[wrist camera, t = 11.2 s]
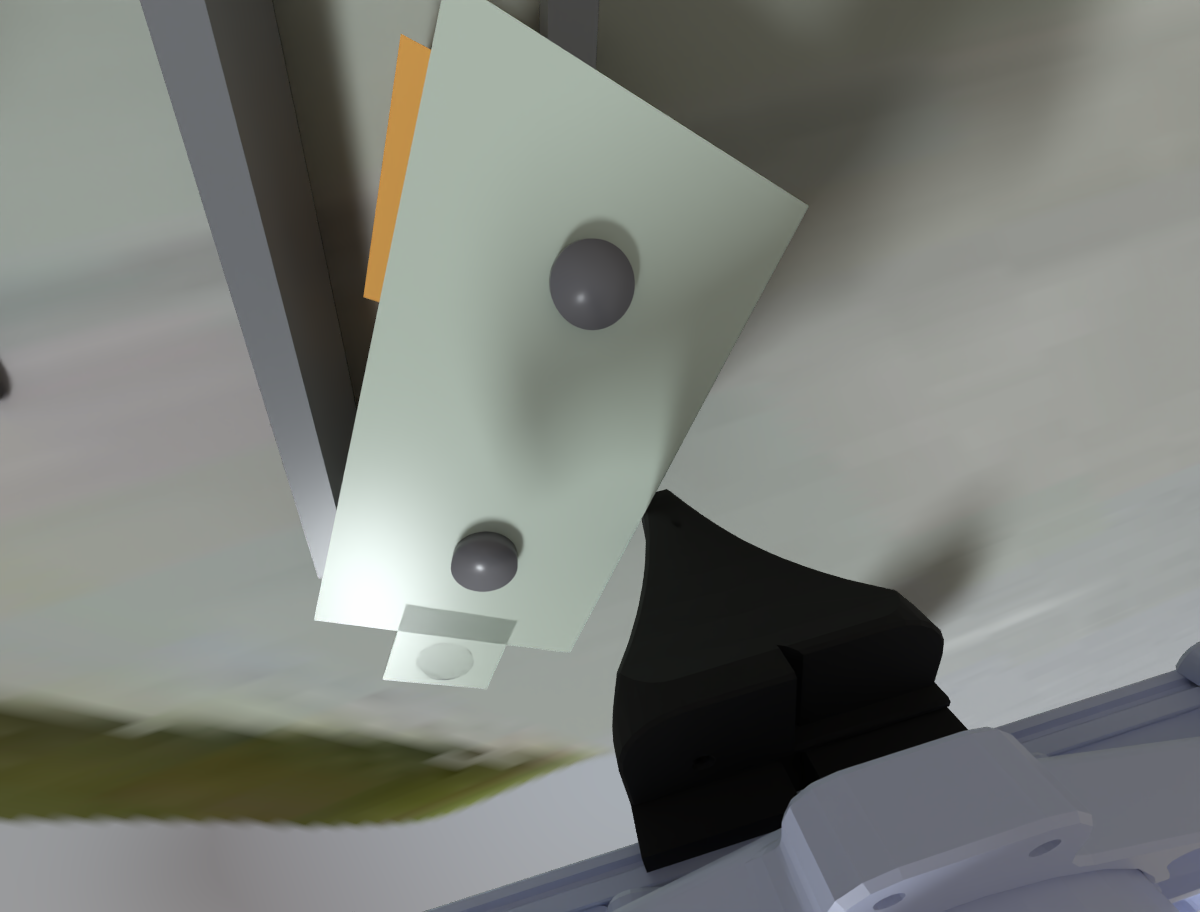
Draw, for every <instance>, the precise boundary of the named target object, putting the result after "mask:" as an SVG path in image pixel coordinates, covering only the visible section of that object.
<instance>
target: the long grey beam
mask: <svg viewBox="0 0 1200 912" xmlns="http://www.w3.org/2000/svg"><path fill="white" fill-rule="evenodd" d="M140 2H141V6H142V9H143V12H144V15H145V18H146V22H147V25H148V28H149V31H150V35H151V38H152V41H153V44H154V48H155V51H156V54H157V57H158V61H159V64H160V67H161V70H162V74H163V77H164V80H165V83H166V87H167V90H168V93H169V96H170V99H171V103H172V106H173V109H174V112H175V116H176V119H177V122H178V125H179V129H180V132H181V135H182V138H183V142H184V145H185V148H186V151H187V155H188V158H189V161H190V164H191V167H192V171H193V174H194V177H195V180H196V184H197V187H198V190H199V193H200V197H201V200H202V203H203V206H204V210H205V213H206V216H207V219H208V223H209V226H210V229H211V232H212V236H213V239H214V242H215V245H216V248H217V252H218V255H219V258H220V261H221V265H222V268H223V271H224V274H225V278H226V281H227V284H228V287H229V291H230V294H231V297H232V300H233V304H234V307H235V310H236V313H237V316H238V320H239V323H240V326H241V329H242V333H243V336H244V339H245V342H246V346H247V349H248V352H249V355H250V359H251V362H252V365H253V368H254V372H255V375H256V378H257V381H258V385H259V388H260V391H261V394H262V397H263V401H264V404H265V407H266V410H267V414H268V417H269V420H270V423H271V427H272V430H273V433H274V436H275V440H276V443H277V446H278V449H279V453H280V456H281V459H282V462H283V465H284V469H285V472H286V475H287V478H288V482H289V485H290V488H291V491H292V495H293V498H294V501H295V504H296V508H297V511H298V514H299V517H300V521H301V524H302V527H303V530H304V534H305V537H306V540H307V543H308V546H309V550H310V553H311V556H312V559H313V563H314V566H315V569H316V572H317V576H318V578H323V574H324V569H325V564H326V559H327V555H328V550H329V545H330V540H331V535H332V530H333V525H334V521H335V516H336V511H337V506H338V501H339V496H340V491H341V486H342V482H343V477H344V472H345V467H346V462H347V457H348V452H349V448H350V443H351V438H352V433H353V428H354V423H355V418H356V413H357V410H356V405H355V400H354V395H353V390H352V385H351V380H350V376H349V371H348V366H347V361H346V356H345V351H344V347H343V342H342V337H341V332H340V327H339V322H338V317H337V313H336V308H335V303H334V298H333V293H332V288H331V283H330V279H329V274H328V269H327V264H326V259H325V254H324V250H323V245H322V240H321V235H320V230H319V225H318V220H317V216H316V211H315V206H314V201H313V196H312V191H311V187H310V182H309V177H308V172H307V167H306V162H305V157H304V153H303V148H302V143H301V138H300V133H299V128H298V123H297V119H296V114H295V109H294V104H293V99H292V94H291V90H290V85H289V80H288V75H287V70H286V65H285V60H284V56H283V51H282V46H281V41H280V36H279V31H278V27H277V22H276V17H275V12H274V7H273V2H272V0H140ZM598 12H599V0H540V6H539V34H540V35H542V36H544V37H545V38H547V39H548V40H550V41H551V42H553V43H554V44H556V45H558V46H559V47H561V48H562V49H564V50H565V51H567V52H569V53H570V54H572V55H573V56H575V57H576V58H578V59H580V60H581V61H583V62H584V63H586V64H587V65H589V66H590V67H592V68H594V69H595V70H596V55H597V33H598Z"/></svg>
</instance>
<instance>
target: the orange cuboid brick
mask: <svg viewBox="0 0 1200 912" xmlns="http://www.w3.org/2000/svg"><path fill="white" fill-rule="evenodd" d="M430 53H431V49H429V48H427V47H425V46H423V45H421V44H419V43H417V42H415V41H413V40H411V39H409V38H408V37H406V36H404V35H402V34H401V37H400V44H399V51H398V58H397V65H396V72H395V79H394V86H393V93H392V100H391V107H390V114H389V121H388V128H387V135H386V142H385V149H384V156H383V163H382V170H381V177H380V184H379V191H378V198H377V205H376V212H375V219H374V226H373V233H372V240H371V247H370V254H369V261H368V268H367V275H366V282H365V289H364V296H363V297H365V298H368V299H371V300H374V301H377V302H380V297H381V292H382V287H383V282H384V277H385V272H386V267H387V263H388V258H389V253H390V248H391V243H392V238H393V233H394V229H395V224H396V219H397V214H398V209H399V204H400V199H401V194H402V190H403V185H404V180H405V175H406V170H407V165H408V160H409V156H410V151H411V146H412V141H413V136H414V131H415V126H416V121H417V117H418V112H419V107H420V102H421V97H422V92H423V87H424V83H425V78H426V73H427V68H428V63H429V58H430Z"/></svg>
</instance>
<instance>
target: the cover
mask: <svg viewBox="0 0 1200 912" xmlns="http://www.w3.org/2000/svg"><path fill="white" fill-rule="evenodd" d="M808 207H809V206H808V205H806V204H805V203H803V202H802V201H800V200H799V199H797V198H796V197H794V196H792V195H791V194H789V193H788V192H786V191H785V190H783V189H781V188H780V187H778V186H777V185H775V184H774V183H772V182H770V181H769V180H767V179H766V178H764V177H763V176H761V175H760V174H758V173H756V172H755V171H753V170H752V169H750V168H749V167H747V166H745V165H744V164H742V163H741V162H739V161H738V160H736V159H734V158H733V157H731V156H730V155H728V154H727V153H725V152H724V151H722V150H720V149H719V148H717V147H716V146H714V145H713V144H711V143H709V142H708V141H706V140H705V139H703V138H702V137H700V136H698V135H697V134H695V133H694V132H692V131H691V130H689V129H688V128H686V127H684V126H683V125H681V124H680V123H678V122H677V121H675V120H673V119H672V118H670V117H669V116H667V115H666V114H664V113H662V112H661V111H659V110H658V109H656V108H655V107H653V106H652V105H650V104H648V103H647V102H645V101H644V100H642V99H641V98H639V97H637V96H636V95H634V94H633V93H631V92H630V91H628V90H626V89H625V88H623V87H622V86H620V85H619V84H617V83H616V82H614V81H612V80H611V79H609V78H608V77H606V76H605V75H603V74H601V73H600V72H598V71H597V70H595V69H594V68H592V67H590V66H589V65H587V64H586V63H584V62H583V61H581V60H580V59H578V58H576V57H575V56H573V55H572V54H570V53H569V52H567V51H565V50H564V49H562V48H561V47H559V46H558V45H556V44H554V43H553V42H551V41H550V40H548V39H547V38H545V37H544V36H542V35H540V34H539V33H537V32H536V31H534V30H533V29H531V28H529V27H528V26H526V25H525V24H523V23H522V22H520V21H518V20H517V19H515V18H514V17H512V16H511V15H509V14H508V13H506V12H504V11H503V10H501V9H500V8H498V7H497V6H495V5H493V4H492V3H490V2H489V1H487V0H441V5H440V10H439V14H438V19H437V24H436V29H435V34H434V39H433V44H432V48H431V53H430V58H429V63H428V68H427V73H426V78H425V83H424V87H423V92H422V97H421V102H420V107H419V112H418V117H417V121H416V126H415V131H414V136H413V141H412V146H411V151H410V156H409V160H408V165H407V170H406V175H405V180H404V185H403V190H402V194H401V199H400V204H399V209H398V214H397V219H396V224H395V229H394V233H393V238H392V243H391V248H390V253H389V258H388V263H387V267H386V272H385V277H384V282H383V287H382V292H381V297H380V302H379V306H378V311H377V316H376V321H375V326H374V331H373V336H372V340H371V345H370V350H369V355H368V360H367V365H366V370H365V375H364V379H363V384H362V389H361V394H360V399H359V404H358V409H357V413H356V418H355V423H354V428H353V433H352V438H351V443H350V448H349V452H348V457H347V462H346V467H345V472H344V477H343V482H342V486H341V491H340V496H339V501H338V506H337V511H336V516H335V521H334V525H333V530H332V535H331V540H330V545H329V550H328V555H327V559H326V564H325V569H324V574H323V579H322V584H321V589H320V594H319V598H318V603H317V608H316V613H315V618H314V620H317V621H325V622H332V623H340V624H348V625H356V626H364V627H371V628H379V629H387V630H395V631H397V632H396V636H395V639H394V643H393V646H392V649H391V653H390V656H389V660H388V663H387V667H386V670H385V673H384V677H383V680H391V681H402V682H414V683H425V684H436V685H447V686H458V687H469V688H480V689H487V687H488V685H489V683H490V680H491V678H492V676H493V674H494V672H495V669H496V667H497V665H498V663H499V660H500V658H501V656H502V654H503V652H504V649H505V647H506V645H512V646H520V647H527V648H535V649H543V650H551V651H559V652H566V653H570V652H571V650H572V648H573V646H574V644H575V642H576V640H577V639H578V637H579V635H580V633H581V631H582V629H583V627H584V625H585V624H586V622H587V620H588V618H589V616H590V614H591V612H592V610H593V609H594V607H595V605H596V603H597V601H598V599H599V597H600V596H601V594H602V592H603V590H604V588H605V586H606V584H607V582H608V581H609V579H610V577H611V575H612V573H613V571H614V569H615V567H616V566H617V564H618V562H619V560H620V558H621V556H622V554H623V553H624V551H625V549H626V547H627V545H628V543H629V541H630V539H631V538H632V536H633V534H634V532H635V530H636V528H637V526H638V524H639V523H640V521H641V519H642V517H643V515H644V513H645V511H646V510H647V508H648V506H649V504H650V502H651V500H652V498H653V496H654V495H655V493H656V491H657V489H658V487H659V485H660V483H661V481H662V480H663V478H664V476H665V474H666V472H667V470H668V468H669V467H670V465H671V463H672V461H673V459H674V457H675V455H676V453H677V452H678V450H679V448H680V446H681V444H682V442H683V440H684V438H685V437H686V435H687V433H688V431H689V429H690V427H691V425H692V424H693V422H694V420H695V418H696V416H697V414H698V412H699V410H700V409H701V407H702V405H703V403H704V401H705V399H706V397H707V395H708V394H709V392H710V390H711V388H712V386H713V384H714V382H715V381H716V379H717V377H718V375H719V373H720V371H721V369H722V367H723V366H724V364H725V362H726V360H727V358H728V356H729V354H730V352H731V351H732V349H733V347H734V345H735V343H736V341H737V339H738V338H739V336H740V334H741V332H742V330H743V328H744V326H745V324H746V323H747V321H748V319H749V317H750V315H751V313H752V311H753V309H754V308H755V306H756V304H757V302H758V300H759V298H760V296H761V295H762V293H763V291H764V289H765V287H766V285H767V283H768V281H769V280H770V278H771V276H772V274H773V272H774V270H775V268H776V266H777V265H778V263H779V261H780V259H781V257H782V255H783V253H784V252H785V250H786V248H787V246H788V244H789V242H790V240H791V238H792V237H793V235H794V233H795V231H796V229H797V227H798V225H799V223H800V222H801V220H802V218H803V216H804V214H805V212H806V210H807V209H808Z"/></svg>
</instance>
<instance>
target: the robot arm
mask: <svg viewBox="0 0 1200 912" xmlns="http://www.w3.org/2000/svg"><path fill="white" fill-rule="evenodd" d="M642 523H643V528H644V534H645V539H646V554H645V569H644V578H643V585H642V591H641V596H640V601H639V606H638V611H637V615H636V618H635V622H634V625H633V629H632V632H631V636H630V639H629V642H628V645H627V648H626V651H625V653H624V656H623V658H622V661H621V664H620V666H619V669H618V671H617V678H616V686H615V695H614V705H613V724H612V728H613V742H614V748H615V753H616V758H617V763H618V768H619V772H620V775H621V778H622V781H623V784H624V786H625V789H626V792H627V795H628V798H629V801H630V803H631V807H632V812H633V818H634V823H635V828H636V833H637V838H638V843H635V844H633V845H629V846H626V847H623V848H620V849H617V850H614V851H611V852H608V853H605V854H602V855H599V856H595V857H592V858H589V859H586V860H583V861H579V862H577V863H573V864H570V865H567V866H564V867H561V868H558V869H555V870H551V871H548V872H545V873H542V874H539V875H536V876H533V877H530V878H527V879H524V880H521V881H517V882H514V883H511V884H508V885H505V886H502V887H499V888H496V889H493V890H489V891H486V892H483V893H480V894H477V895H474V896H471V897H467V898H464V899H461V900H458V901H455V902H452V903H449V904H446V905H443V906H439V907H436V908H433V909H430V910H427V911H424V912H1200V642H1198V643H1196V644H1195V645H1193V646H1192V647H1190V648H1189V649H1188V650H1187V651H1186V652H1185V653H1184V654H1183V655H1182V657H1181V658H1180V659H1179V661H1178V663H1177V665H1176V670H1174V671H1171V672H1168V673H1165V674H1161V675H1158V676H1155V677H1152V678H1149V679H1146V680H1143V681H1140V682H1137V683H1133V684H1130V685H1127V686H1124V687H1121V688H1118V689H1115V690H1112V691H1109V692H1105V693H1102V694H1099V695H1096V696H1093V697H1090V698H1087V699H1084V700H1081V701H1077V702H1074V703H1071V704H1068V705H1065V706H1062V707H1059V708H1056V709H1053V710H1049V711H1046V712H1043V713H1040V714H1037V715H1034V716H1031V717H1028V718H1025V719H1021V720H1018V721H1015V722H1012V723H1009V724H1006V725H1003V726H1000V727H997V728H990V727H983V728H977V729H971V730H968V729H967V728H966V727H965V726H964V725H963V724H962V723H961V722H960V721H959V719H958V718H957V717H956V716H955V715H954V714H953V713H952V712H951V711H950V710H949V709H948V708H947V707H948V706H949V705H950V700H949V698H948V696H947V695H946V694H945V693H944V692H943V691H942V690H941V689H940V688H939V687H938V686H937V684H936V683H935V682H934V681H935V678H936V674H937V671H938V668H939V664H940V661H941V658H942V654H943V645H944V639H943V636H942V633H941V630H940V629H939V628H938V627H936V626H935V625H934V624H933V623H932V622H931V621H930V620H929V619H928V618H927V617H926V616H925V615H924V614H923V613H922V612H921V611H920V610H918V609H917V608H916V607H915V606H914V605H913V604H912V603H910V602H909V601H908V600H907V599H906V598H904V597H903V596H902V595H901V594H899V593H898V592H897V591H895V590H891V589H886V588H882V587H878V586H873V585H869V584H864V583H860V582H856V581H851V580H847V579H844V578H840V577H837V576H833V575H830V574H827V573H823V572H820V571H817V570H814V569H811V568H808V567H805V566H802V565H799V564H797V563H794V562H791V561H789V560H786V559H783V558H781V557H778V556H776V555H774V554H771V553H769V552H767V551H765V550H762V549H760V548H758V547H756V546H754V545H752V544H750V543H748V542H746V541H744V540H742V539H740V538H738V537H737V536H735V535H733V534H731V533H730V532H728V531H726V530H725V529H723V528H721V527H720V526H718V525H716V524H715V523H713V522H712V521H710V520H709V519H707V518H706V517H704V516H703V515H701V514H700V513H699V512H697V511H696V510H694V509H693V508H692V507H690V506H689V505H687V504H686V503H685V502H683V501H682V500H681V499H679V498H678V497H677V496H676V495H674V494H673V493H672V492H670V491H669V490H667V489H665V490H662V491H658V492H656V493H655V495H654V496H653V498H652V500H651V502H650V504H649V506H648V508H647V510H646V511H645V513H644V515H643V517H642Z"/></svg>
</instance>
